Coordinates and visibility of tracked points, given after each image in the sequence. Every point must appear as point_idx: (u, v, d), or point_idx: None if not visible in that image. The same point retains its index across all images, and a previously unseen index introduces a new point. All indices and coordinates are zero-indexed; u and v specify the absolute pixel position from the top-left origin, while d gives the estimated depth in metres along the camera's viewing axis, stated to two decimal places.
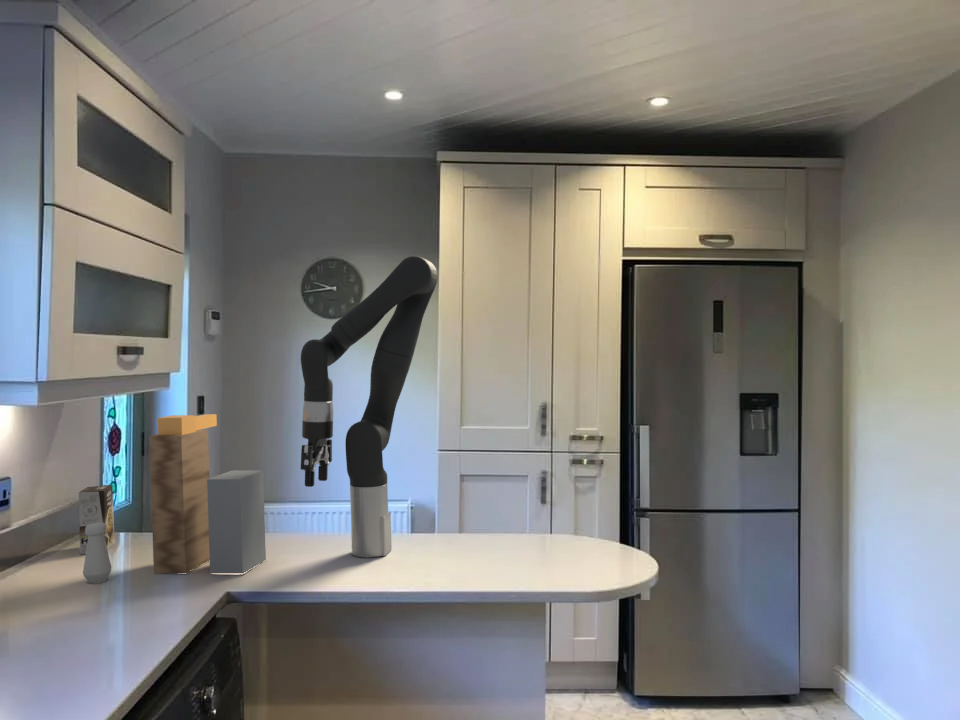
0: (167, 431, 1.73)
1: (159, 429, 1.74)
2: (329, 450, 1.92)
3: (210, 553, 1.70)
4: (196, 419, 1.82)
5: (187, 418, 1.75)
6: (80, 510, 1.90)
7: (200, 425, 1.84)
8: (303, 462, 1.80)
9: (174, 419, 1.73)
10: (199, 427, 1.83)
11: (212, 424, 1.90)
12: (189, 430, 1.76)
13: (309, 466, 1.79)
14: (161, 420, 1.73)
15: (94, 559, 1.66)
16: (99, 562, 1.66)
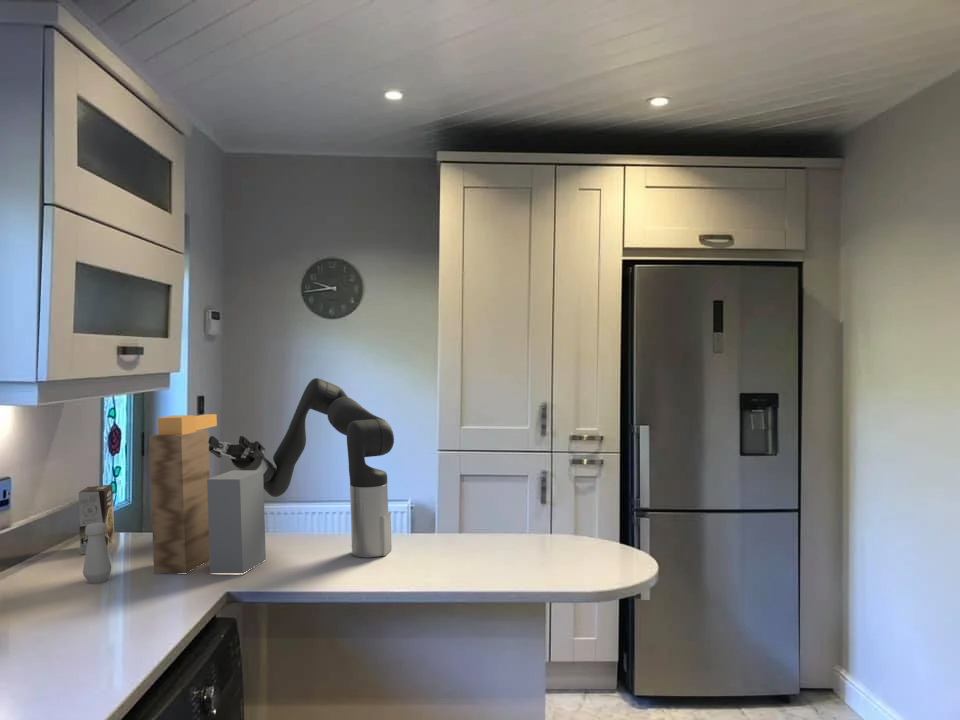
0: (167, 431, 1.73)
1: (159, 429, 1.74)
2: None
3: (210, 553, 1.70)
4: (196, 419, 1.82)
5: (187, 418, 1.75)
6: (80, 510, 1.90)
7: (200, 425, 1.84)
8: None
9: (174, 419, 1.73)
10: (199, 427, 1.83)
11: (212, 424, 1.90)
12: (189, 430, 1.76)
13: None
14: (161, 420, 1.73)
15: (94, 559, 1.66)
16: (99, 562, 1.66)
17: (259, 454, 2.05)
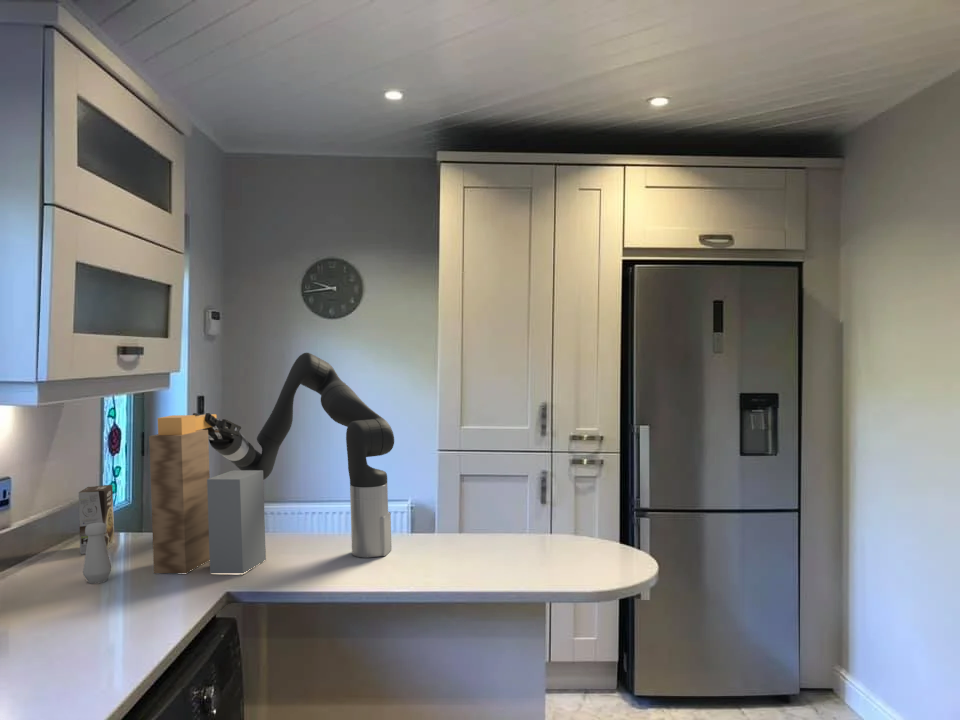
0: (167, 431, 1.73)
1: (159, 429, 1.74)
2: None
3: (210, 553, 1.70)
4: (196, 419, 1.82)
5: (187, 418, 1.75)
6: (80, 510, 1.90)
7: (200, 425, 1.84)
8: None
9: (174, 419, 1.73)
10: (199, 427, 1.83)
11: None
12: (189, 430, 1.76)
13: None
14: (161, 420, 1.73)
15: (94, 559, 1.66)
16: (99, 562, 1.66)
17: (232, 432, 1.92)
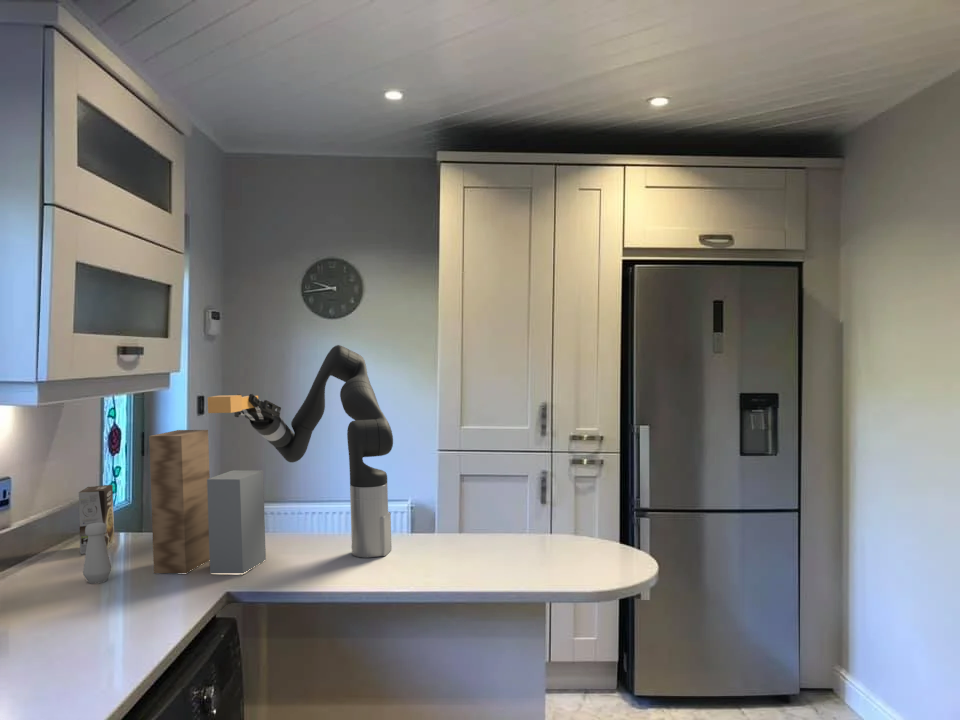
0: (216, 409, 1.85)
1: (209, 407, 1.85)
2: None
3: (210, 553, 1.70)
4: (241, 399, 1.94)
5: (235, 397, 1.87)
6: (80, 510, 1.90)
7: (245, 405, 1.95)
8: None
9: (223, 398, 1.84)
10: (244, 407, 1.95)
11: None
12: (236, 409, 1.87)
13: None
14: (210, 399, 1.85)
15: (94, 559, 1.66)
16: (99, 562, 1.66)
17: (273, 413, 2.03)
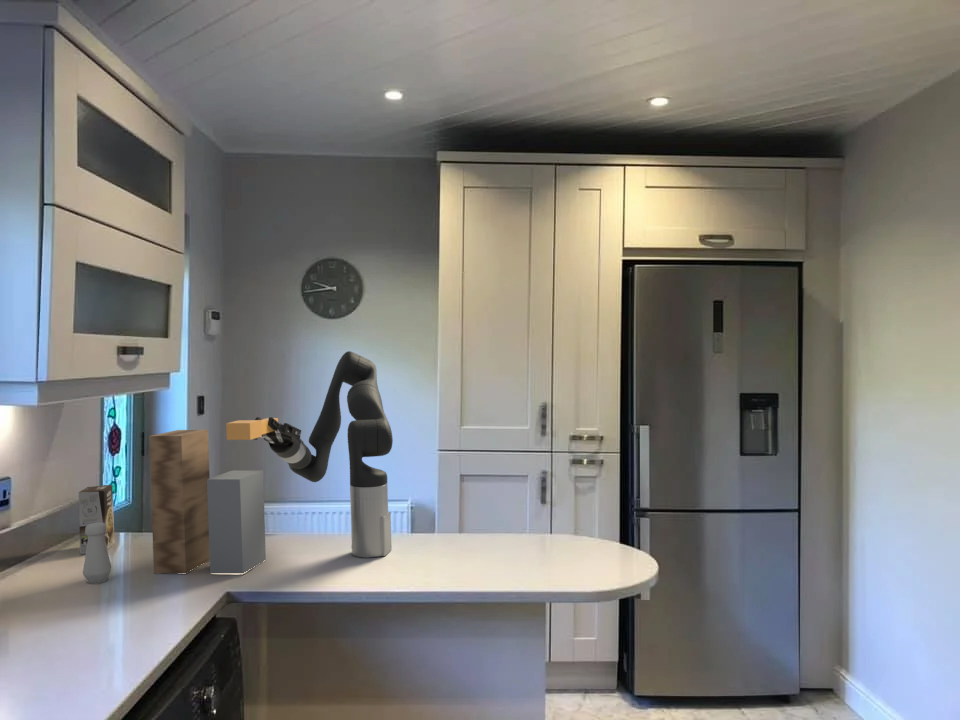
0: (235, 436, 1.77)
1: (228, 434, 1.77)
2: None
3: (210, 553, 1.70)
4: (261, 424, 1.86)
5: (254, 423, 1.79)
6: (80, 510, 1.90)
7: (264, 429, 1.88)
8: None
9: (242, 424, 1.77)
10: (263, 431, 1.87)
11: None
12: (256, 435, 1.80)
13: None
14: (229, 425, 1.77)
15: (94, 559, 1.66)
16: (99, 562, 1.66)
17: (293, 436, 1.96)
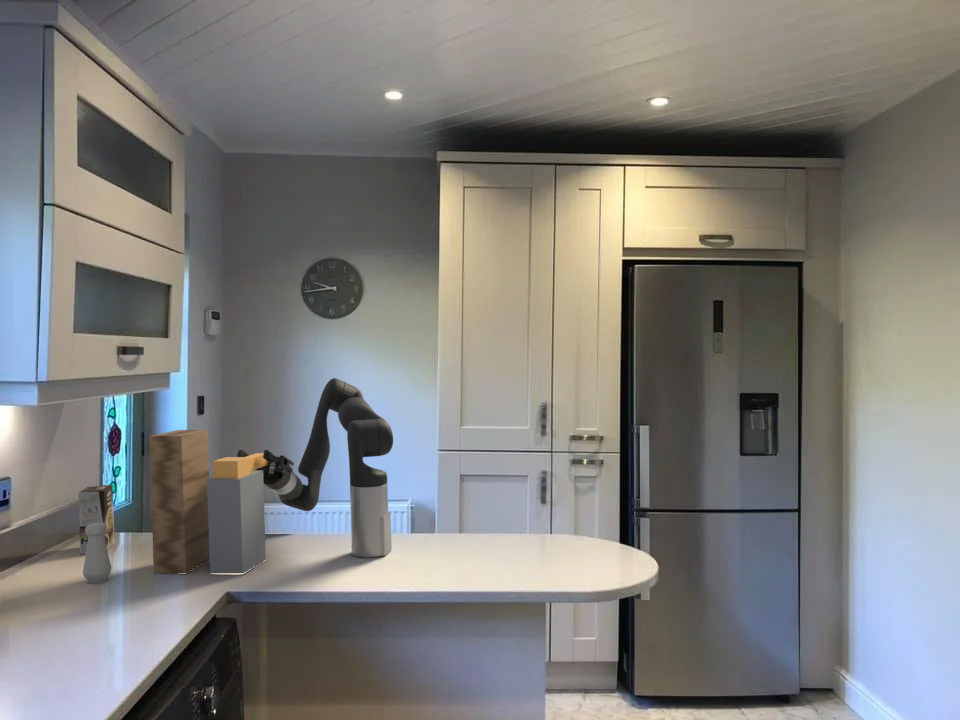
0: (222, 475, 1.71)
1: (214, 472, 1.71)
2: None
3: (210, 553, 1.70)
4: (249, 460, 1.79)
5: (242, 461, 1.72)
6: (80, 510, 1.90)
7: (253, 466, 1.81)
8: None
9: (230, 462, 1.70)
10: (252, 468, 1.81)
11: (263, 464, 1.87)
12: (244, 473, 1.73)
13: None
14: (216, 463, 1.71)
15: (94, 559, 1.66)
16: (99, 562, 1.66)
17: (286, 469, 1.89)
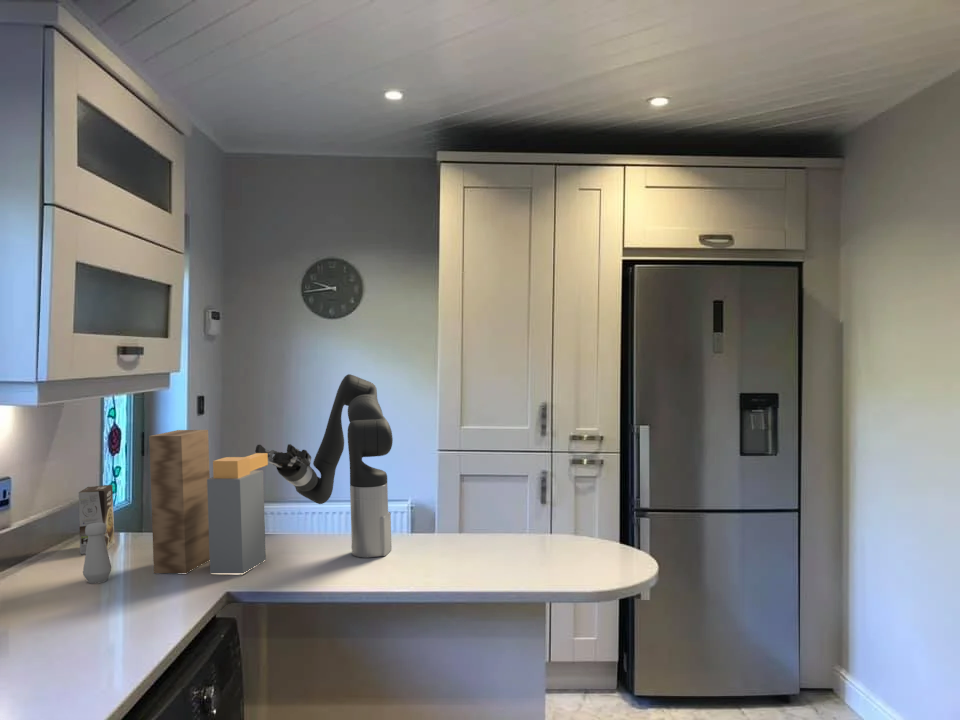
0: (222, 475, 1.71)
1: (214, 472, 1.71)
2: None
3: (210, 553, 1.70)
4: (249, 460, 1.79)
5: (242, 461, 1.72)
6: (80, 510, 1.90)
7: (253, 466, 1.81)
8: None
9: (230, 462, 1.70)
10: (252, 468, 1.81)
11: (263, 464, 1.87)
12: (244, 473, 1.73)
13: None
14: (216, 463, 1.71)
15: (94, 559, 1.66)
16: (99, 562, 1.66)
17: (306, 463, 2.01)
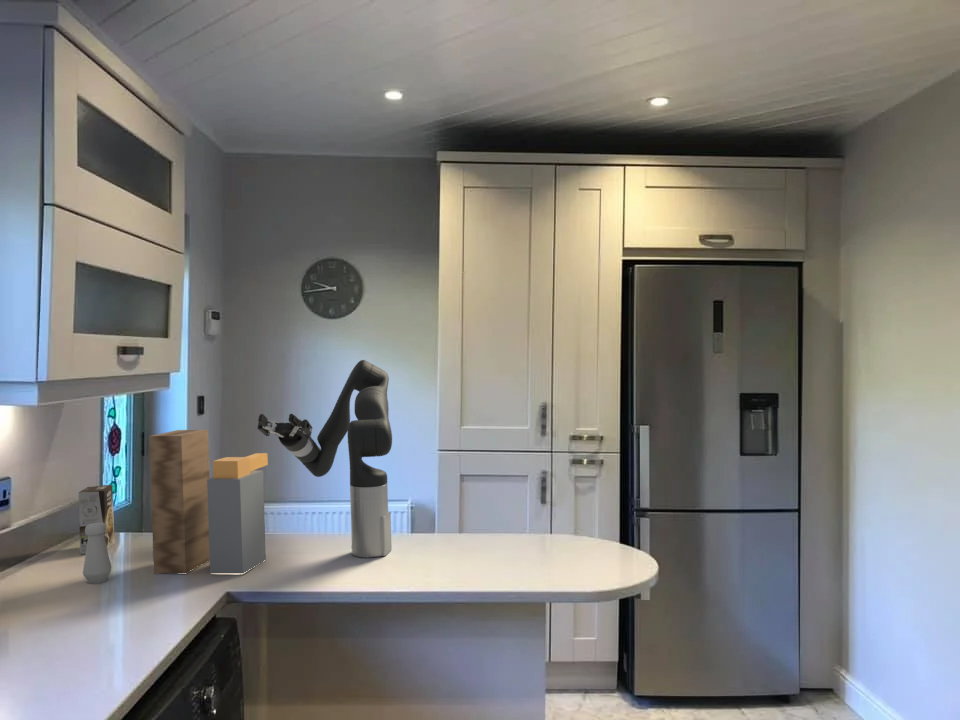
0: (222, 475, 1.71)
1: (214, 472, 1.71)
2: None
3: (210, 553, 1.70)
4: (249, 460, 1.79)
5: (242, 461, 1.72)
6: (80, 510, 1.90)
7: (253, 466, 1.81)
8: None
9: (230, 462, 1.70)
10: (252, 468, 1.81)
11: (263, 464, 1.87)
12: (244, 473, 1.73)
13: None
14: (216, 463, 1.71)
15: (94, 559, 1.66)
16: (99, 562, 1.66)
17: (307, 432, 2.08)
